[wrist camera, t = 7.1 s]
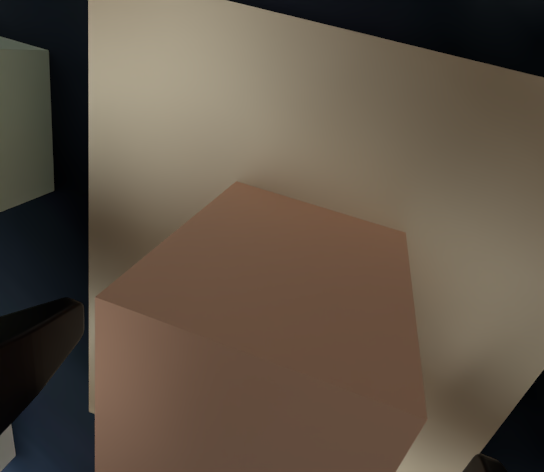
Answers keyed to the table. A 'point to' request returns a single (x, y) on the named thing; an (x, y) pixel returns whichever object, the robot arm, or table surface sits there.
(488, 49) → the table surface
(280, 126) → the birch board
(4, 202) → the sage brick
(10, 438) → the cream brick
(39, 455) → the table surface
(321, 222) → the terracotta brick
